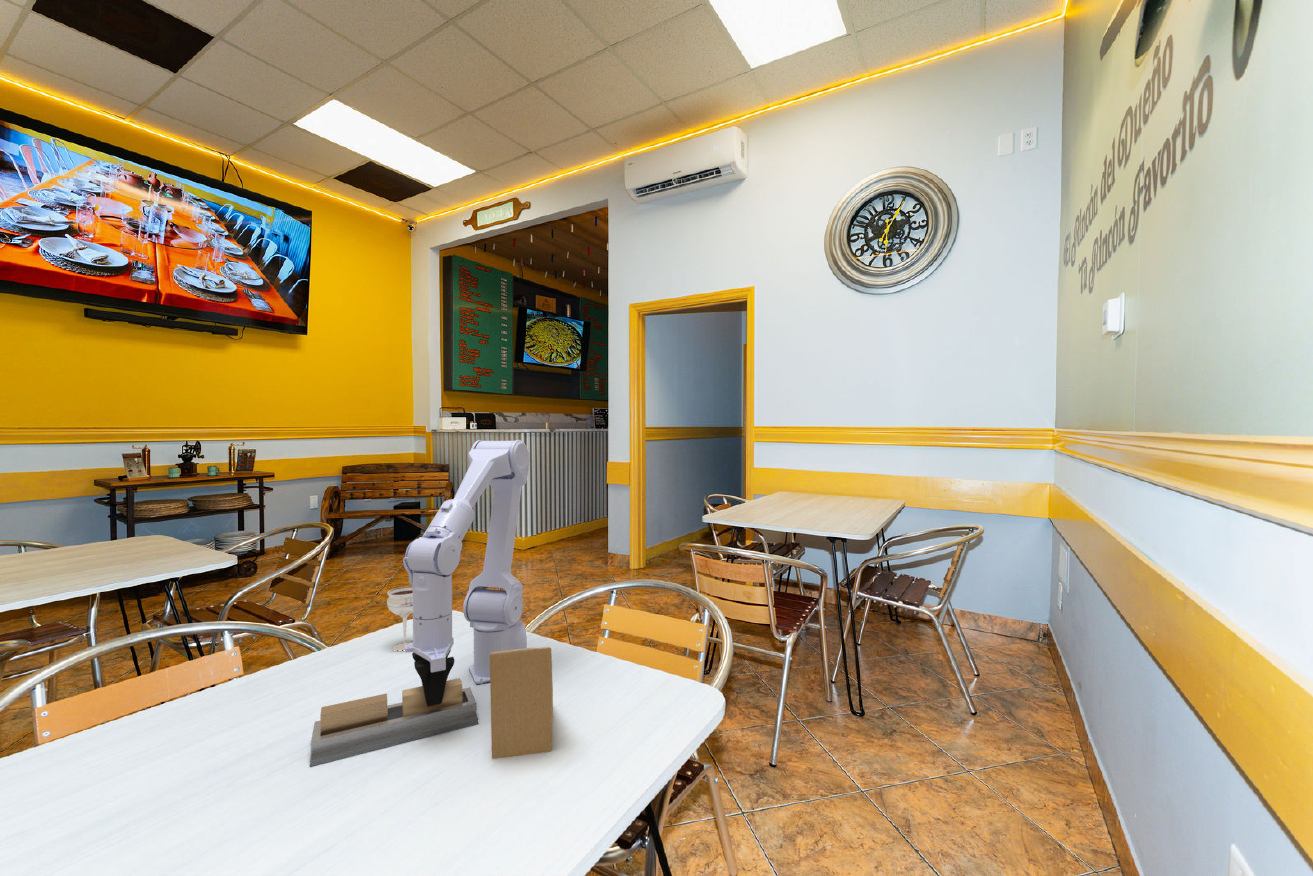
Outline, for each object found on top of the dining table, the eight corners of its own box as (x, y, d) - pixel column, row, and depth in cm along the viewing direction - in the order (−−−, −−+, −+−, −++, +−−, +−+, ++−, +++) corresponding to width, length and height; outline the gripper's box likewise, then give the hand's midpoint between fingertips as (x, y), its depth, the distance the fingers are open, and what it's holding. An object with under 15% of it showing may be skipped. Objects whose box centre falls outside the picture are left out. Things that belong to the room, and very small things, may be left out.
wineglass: (379, 652, 111) (379, 594, 111) (400, 640, 118) (400, 585, 118) (409, 654, 110) (409, 596, 110) (428, 641, 116) (428, 586, 116)
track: (468, 699, 91) (468, 668, 91) (478, 723, 83) (478, 689, 83) (315, 734, 80) (315, 699, 80) (310, 766, 72) (309, 727, 72)
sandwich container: (552, 700, 91) (551, 612, 90) (553, 752, 76) (552, 647, 75) (499, 706, 89) (498, 616, 89) (490, 760, 74) (489, 652, 74)
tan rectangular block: (460, 705, 87) (459, 678, 87) (462, 712, 85) (462, 684, 85) (402, 719, 83) (402, 690, 83) (403, 726, 81) (403, 696, 81)
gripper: (401, 605, 88) (402, 687, 88) (407, 633, 76) (408, 728, 76) (447, 598, 92) (447, 677, 92) (460, 624, 79) (460, 716, 79)
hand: (433, 700), depth 84 cm, fingers closed on tan rectangular block, 2 cm apart
